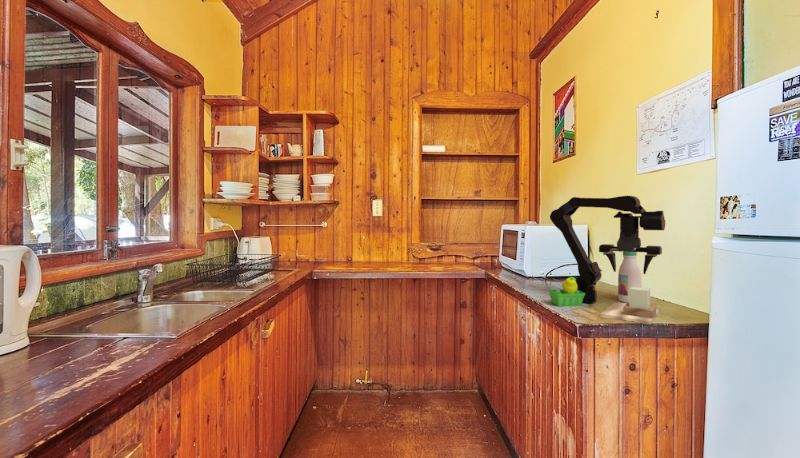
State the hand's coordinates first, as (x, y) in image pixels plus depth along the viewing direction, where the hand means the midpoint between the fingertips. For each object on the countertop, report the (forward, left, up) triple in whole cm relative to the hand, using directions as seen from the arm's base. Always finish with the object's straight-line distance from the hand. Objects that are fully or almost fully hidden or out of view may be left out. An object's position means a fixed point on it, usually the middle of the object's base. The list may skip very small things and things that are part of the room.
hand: (629, 272), depth 129 cm
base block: (+5, -11, -12) cm, 17 cm away
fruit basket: (-19, -9, -13) cm, 25 cm away
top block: (+5, -11, -10) cm, 15 cm away
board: (+2, -8, -13) cm, 15 cm away
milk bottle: (-2, +12, -13) cm, 18 cm away
